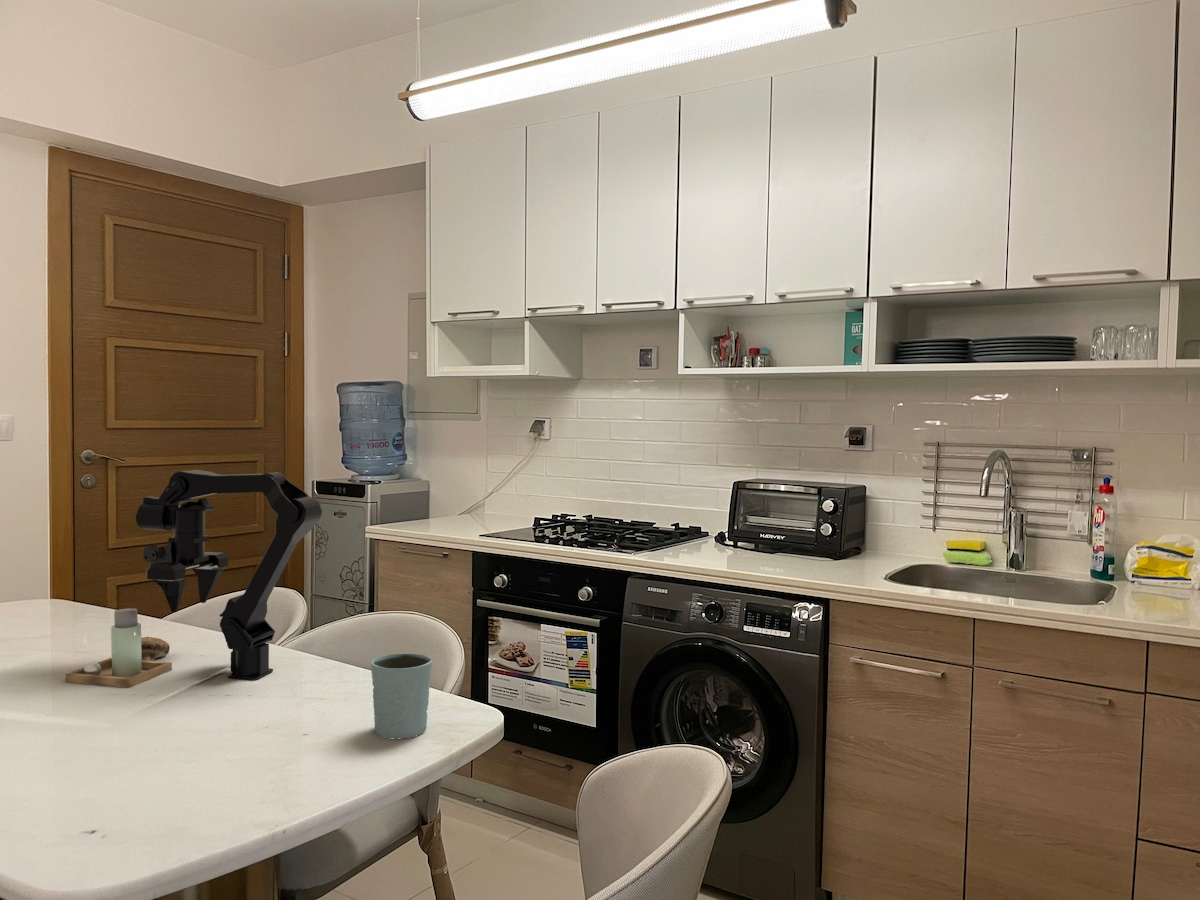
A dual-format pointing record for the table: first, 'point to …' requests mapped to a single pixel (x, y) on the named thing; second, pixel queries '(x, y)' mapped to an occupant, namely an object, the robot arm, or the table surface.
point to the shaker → (126, 644)
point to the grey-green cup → (401, 694)
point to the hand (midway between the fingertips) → (188, 607)
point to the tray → (106, 679)
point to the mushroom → (153, 648)
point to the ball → (93, 669)
